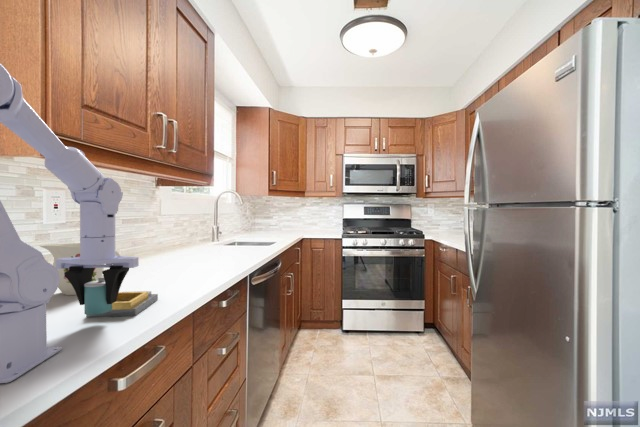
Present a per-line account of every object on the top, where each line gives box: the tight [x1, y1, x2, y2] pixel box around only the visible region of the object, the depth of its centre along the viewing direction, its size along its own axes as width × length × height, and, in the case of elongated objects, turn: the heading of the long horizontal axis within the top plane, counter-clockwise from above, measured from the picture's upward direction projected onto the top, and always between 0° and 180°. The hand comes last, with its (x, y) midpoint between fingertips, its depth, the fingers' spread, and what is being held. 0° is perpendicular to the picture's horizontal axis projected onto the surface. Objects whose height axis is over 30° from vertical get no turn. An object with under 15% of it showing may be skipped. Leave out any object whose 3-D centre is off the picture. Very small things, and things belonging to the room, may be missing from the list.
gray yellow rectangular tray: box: [85, 290, 159, 318], centre depth 70 cm, size 13×10×3 cm
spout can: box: [84, 277, 112, 315], centre depth 59 cm, size 5×5×7 cm
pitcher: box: [39, 242, 122, 296], centre depth 82 cm, size 11×18×14 cm, turn 136°
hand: (98, 303), depth 59 cm, fingers closed on spout can, 4 cm apart
